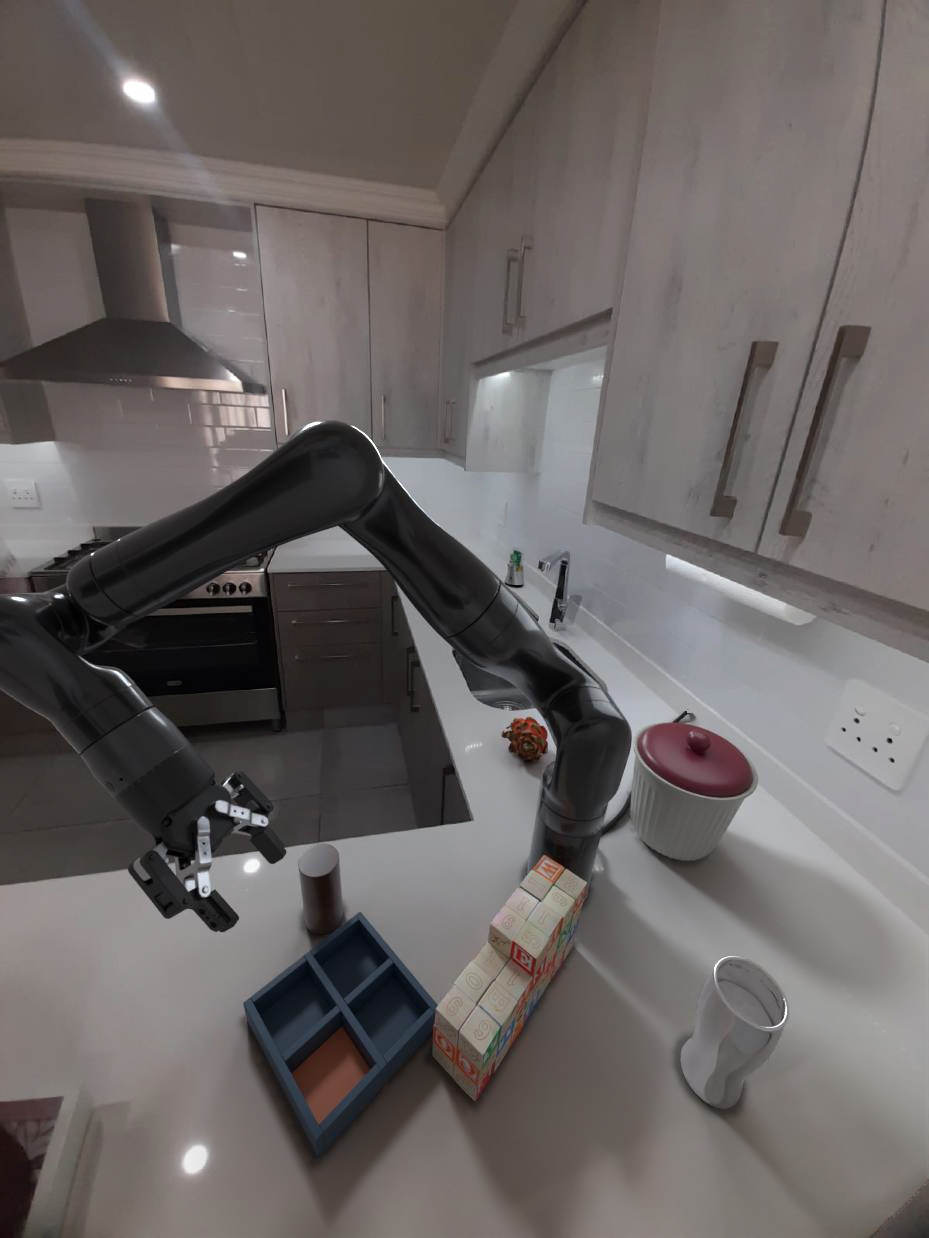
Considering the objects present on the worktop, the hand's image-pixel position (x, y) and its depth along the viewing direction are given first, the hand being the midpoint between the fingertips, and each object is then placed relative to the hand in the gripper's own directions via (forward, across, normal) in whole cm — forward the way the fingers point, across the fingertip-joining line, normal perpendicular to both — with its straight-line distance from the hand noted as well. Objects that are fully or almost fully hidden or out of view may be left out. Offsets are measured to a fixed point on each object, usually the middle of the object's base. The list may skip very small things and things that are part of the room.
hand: (257, 889), depth 49 cm
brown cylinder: (+14, +14, +11) cm, 22 cm away
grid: (+20, +3, +6) cm, 21 cm away
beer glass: (+46, +6, -24) cm, 53 cm away
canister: (+44, +39, -30) cm, 66 cm away
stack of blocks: (+32, +9, -8) cm, 34 cm away
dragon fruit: (+26, +54, -12) cm, 61 cm away
